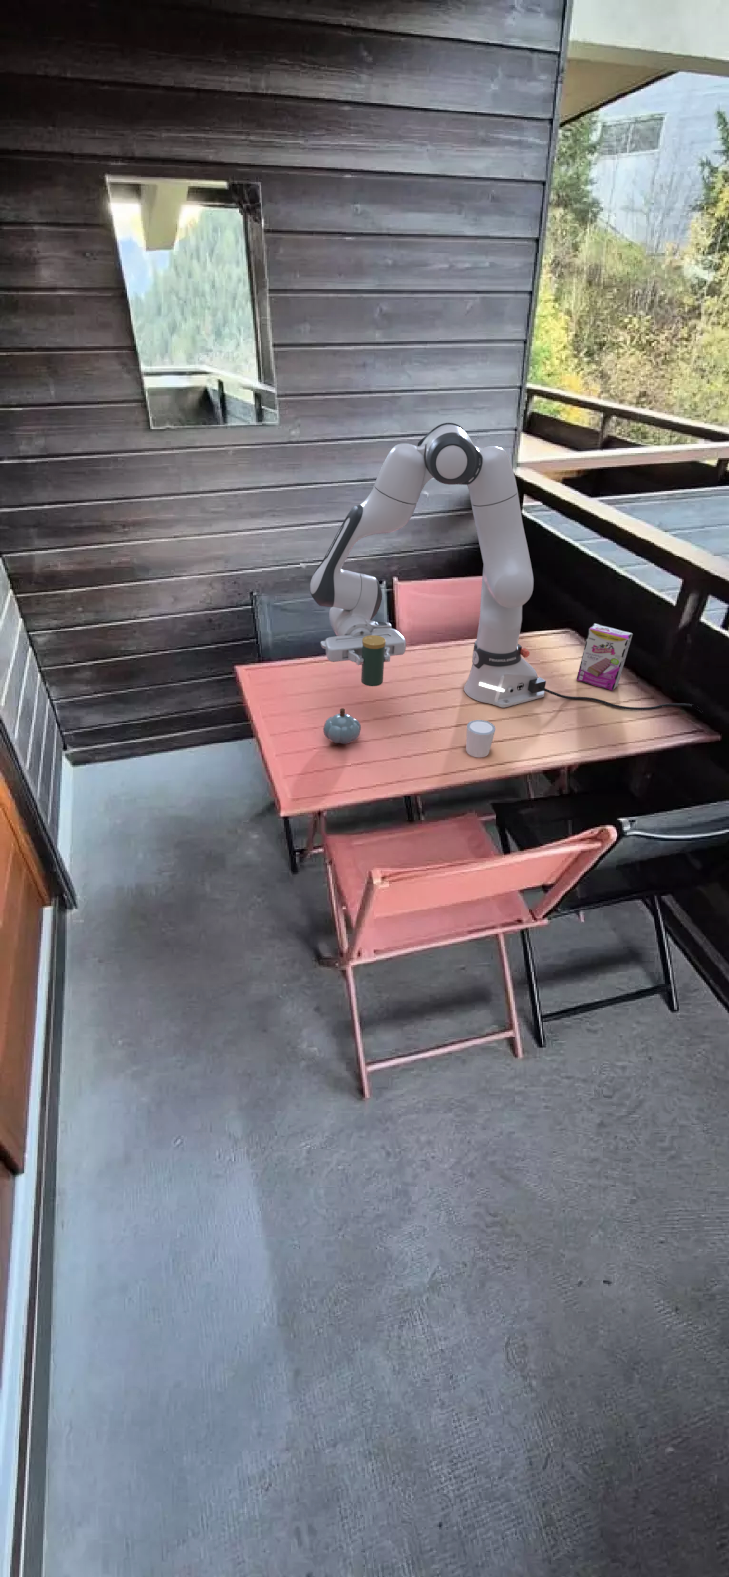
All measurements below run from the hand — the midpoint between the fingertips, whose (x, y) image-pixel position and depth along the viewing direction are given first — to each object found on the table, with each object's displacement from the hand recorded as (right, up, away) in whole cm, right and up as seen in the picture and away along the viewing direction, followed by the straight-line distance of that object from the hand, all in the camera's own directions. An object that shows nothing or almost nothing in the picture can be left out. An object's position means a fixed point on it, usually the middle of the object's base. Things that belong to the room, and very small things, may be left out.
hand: (374, 660), depth 169 cm
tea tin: (-1, -4, +4) cm, 6 cm away
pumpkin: (-8, -19, +5) cm, 21 cm away
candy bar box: (+65, 0, +34) cm, 74 cm away
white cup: (+25, -22, +3) cm, 34 cm away
